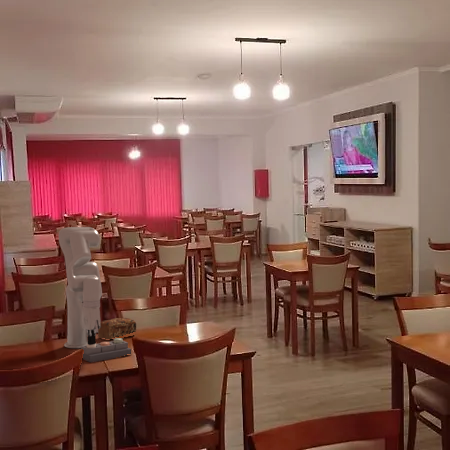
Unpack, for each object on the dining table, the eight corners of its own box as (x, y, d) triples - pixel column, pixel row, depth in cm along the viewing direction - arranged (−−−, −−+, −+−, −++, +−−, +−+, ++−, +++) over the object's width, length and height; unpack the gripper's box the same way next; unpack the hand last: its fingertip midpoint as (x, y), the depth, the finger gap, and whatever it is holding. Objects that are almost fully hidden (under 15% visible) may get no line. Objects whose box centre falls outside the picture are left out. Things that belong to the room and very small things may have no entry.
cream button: (84, 349, 275) (84, 343, 275) (93, 348, 278) (93, 342, 278) (89, 351, 272) (89, 345, 272) (97, 349, 275) (97, 344, 275)
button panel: (78, 357, 278) (78, 345, 277) (118, 350, 291) (118, 338, 291) (90, 362, 268) (90, 350, 268) (131, 355, 282) (131, 343, 282)
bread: (108, 341, 309) (109, 322, 308) (96, 338, 316) (96, 319, 315) (137, 336, 322) (137, 317, 322) (124, 333, 330) (124, 314, 329)
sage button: (112, 344, 284) (112, 338, 284) (119, 343, 287) (119, 337, 287) (116, 346, 281) (116, 340, 281) (124, 344, 284) (124, 339, 284)
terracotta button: (98, 348, 280) (98, 342, 280) (106, 346, 283) (106, 341, 283) (103, 350, 277) (103, 344, 277) (111, 348, 279) (111, 343, 279)
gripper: (76, 303, 277) (76, 342, 278) (91, 307, 266) (91, 348, 266) (91, 301, 282) (91, 340, 283) (106, 305, 271) (106, 345, 271)
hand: (91, 344), depth 275 cm, fingers closed
